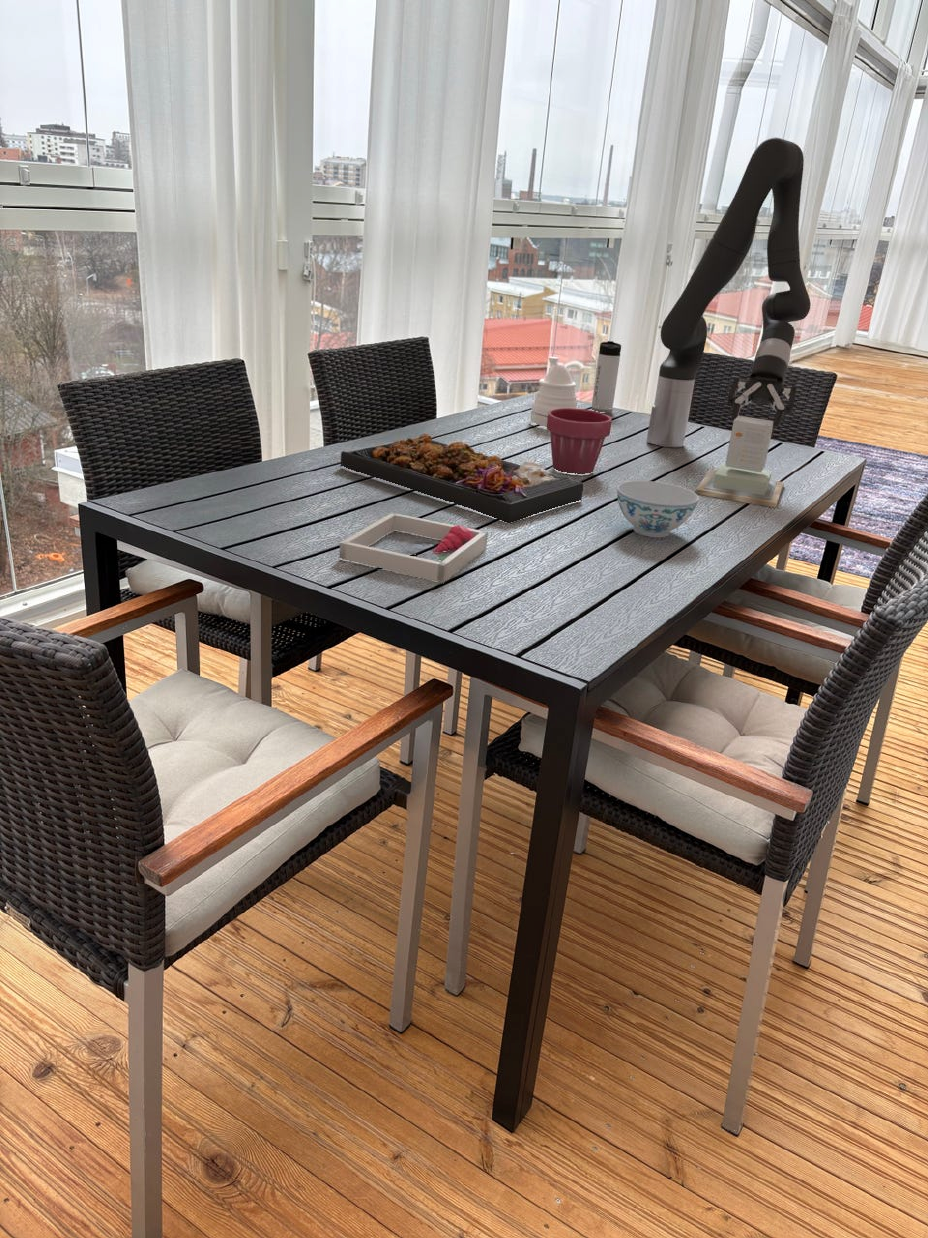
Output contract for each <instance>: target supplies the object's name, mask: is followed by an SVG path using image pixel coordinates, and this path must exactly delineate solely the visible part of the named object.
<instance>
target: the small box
mask: <svg viewBox="0 0 928 1238" xmlns="http://www.w3.org/2000/svg"><path fill="white" fill-rule="evenodd" d="M773 423H774V420H770V419H762V418H756V417H749V416H744V415H739V416H738V417H737V418H736V419H735V420H734V421H733V420H732V428H731V433H730V438H729V441H728V442H729V443H728V449H727V454H726V460H725V463H726V464H725V466H726V467H731V468H737V469H743V470H748V471H754V472H760V473H761V471H762V470H764V468H765V467H766V464H767V463H766V462H767V458H768V453H769V447H770V443H771V437H772V435H773V434H772V433H773V430H774V429H773Z"/></svg>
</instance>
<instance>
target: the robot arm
mask: <svg viewBox="0 0 928 1238" xmlns="http://www.w3.org/2000/svg"><path fill="white" fill-rule="evenodd" d="M804 159H805V158H804V153H803V150H802V149H801V147H800V146H799V144H796V143H795V142H793V141H789V140H786V139H783V138H781V137H775V136H774V137H768V138H767V139H765V140H763V141H762V142H761V143H759V145H758V146H757V147H756V149H754V152H753V153H752V155H751V157H750V160H748V161H749V162H748V163H747V166H746V168H745V171H744V173H743V176H742V177H741V181H740V183H739V185H738V187H737V190H736V192H735V193H734V196H733V198H732V199H731V202H730V203H729V206H728V207H727V209H726V211H725V213H724V215H723V217H722V219H721V221H720V223H719V224H718V226H717V228H716V230H715V231H714V233H713V235H712V236H711V238H710V240H709V242H708V244H707V246H706V248H705V250H704V251H703V254H702V256H701V258H700V260H699V261H698V264H697V265H696V267H695V269H694V271H693V272H692V274H691V277H690V279H689V281H688V282H687V285H686V286H685V288H684V290H683V291H682V293H681V295H680V296H679V297H678V300H677V301H676V302H675V304H674V305H673V307H672V308H671V310H670V311H669V312H668V314H667V316H666V317H665V318H664V320H663V322H662V325H661V329H660V340H661V342H662V344H663V346H664V347H665V348H666V349H668V350H669V351H668V355H667V357H666V358H665V360H664V361H663V362H662V363H661V365H660V367H659V371H658V379H657V383H656V390H655V396H654V405H652V406H651V411H650V417H649V423H648V429H647V430H648V431H647V436H646V443H648V444H653V445H654V444H655V446H658V445H659V447H665V448H681V447H684V443H685V439H686V432H687V427H688V422H689V418H690V417H689V416H690V411H691V405H692V399H693V394H694V387H695V381H696V376H697V373H698V371H699V369H700V366H701V364H702V361H703V356H704V352H705V348H706V347H705V346H706V342H707V336H708V324H707V321H706V318H705V317H704V316H703V315H704V313H705V312H706V310H707V308H708V306H709V305H710V303H711V302H712V301H713V300H714V298H715V297H716V296H717V295H718V294H719V293H720V292H721V291H722V290H723V288H725V287H726V286H727V285H728V283H729V282H730V281H731V280H733V278H734V277H735V275H736V274H737V272H738V271H739V269H740V268H741V266H742V265H743V262H744V261H745V259H746V257H747V255H748V254H749V252H750V250H751V247H752V245H753V242H754V238H755V234H756V233H755V232H756V228H757V221H758V217H759V214H760V211H761V208H762V206H763V204H764V203H765V201H766V199H767V198H768V195H769V193H770V192H771V191H772V192H771V193H772V198H773V213H772V218H771V223H770V228H769V231H768V235H767V243H766V244H767V245H766V256H767V257H766V258H767V260H766V261H767V273H768V274H767V275H768V278H769V280H770V281H772V282H778V283H780V282H781V283H782V282H783V283H785V282H786V284H787V285H788V286H789V290H784V291H780V292H779V291H778V292H774V293H772V294H769V295H767V296H766V297H765V299H764V300H763V301H762V305H761V313H762V334H761V338H760V342H759V346H758V348H757V350H756V352H755V355H754V356H755V357H754V359H753V364H752V367H751V370H750V374H749V376H748V380H747V381H740V379H739V378H738V377H736V378H735V377H734V379H733V381H732V383H731V385H730V389H729V391H728V394H727V399H726V401H727V402H726V406H727V407H732V410H731V415H730V416H731V417H730V419H731V421H732V422H733V421H734V420H735V419H736V418H737V417H738V416H740V412H741V408H743V407H744V406H747V405H749V404H750V403H753V404H762V405H765V406H767V405H770V406H771V408H772V409H773V410H775V412H776V413H775V415H774V419H773V421H774V423H773V429H772V430H776V429H777V428H780V427H781V423H782V420H783V416H785V415H787V416H791V415H792V414H793V411H794V408H795V407H794V406H795V402H796V401H795V400H796V393H797V389H798V388H797V386H795V385H793V386H791V387H790V388H789V387H784V383H785V378H786V376H787V375H786V374H787V371H788V368H789V364H790V359H791V351H792V348H793V343H794V341H795V340H794V339H795V335H796V331H795V330H796V329H795V328H794V326H793V325H792V323H791V322H798V321H802V320H804V319H806V317H808V314H809V313H810V311H811V299H810V296H809V292H808V290H807V287H806V284H805V281H804V278H803V274H802V269H801V258H800V257H801V256H800V255H801V252H800V237H799V235H800V233H799V229H800V228H799V227H800V224H799V223H800V222H799V221H800V205H801V194H802V183H803V177H804V176H803V175H804ZM742 389H744V392H743V393H742V394H741V395H740V396H738V397H737V398H736V395H737V393H739V392H740V391H741V390H742ZM783 395H785V398H786V399H787V400H788V404H787V405H784V404H783V402H782V400H781V396H783Z"/></svg>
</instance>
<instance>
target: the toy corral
mask: <svg viewBox="0 0 928 1238" xmlns="http://www.w3.org/2000/svg"><path fill="white" fill-rule="evenodd" d="M454 526H456V525H455V524H450V523H444V522H441V521H435V520H429V519H424V518H420V517H416V516H410V515H405V514H401V513H395V512H390V513H389V514H387V515H385V516H383V517H382V518H380V519H378V520H377V521H375V522H373V523H372V524H370V525H368V526H366V527H365V528H363V529H361V530H360V531H358V532H356V533H354V534H352V535H351V536H349V537H347V538H345V539H344V540H342V541H341V542H339V558H342V559H345V560H349V561H355V562H359V563H363V564H368V565H371V566H375V567H379V568H383V569H387V570H390V571H395V572H399V573H402V574H403V573H404V574H407V575H411V576H415V577H420V578H423V579H422V580H424V579H428V580H427V581H429V580H433V581H438V582H441V583H440V584H442V583H443V584H445V583H446V582H447V581H448V580H449V579H451V578H452V577H453V576H454V575H456V574H457V573H458V572H459V571H461V570H462V569H463V568H464V567H466V566H467V565H468V564H469V563H470V562H469V561H471V562H472V561H473V560H474V559H476V558H477V557H478V556H480V555H481V554H482V553H483V552H484V551H486V550H487V545H488V534H489V532H488V531H485V530H484V531H483V530H480V529H479V530H478V529H473V528H469V527H466V528H467V529H468V530H469V531H470V532H471V534H472V535H473V538H472V539H471V540H470V541H465V540H462V542H463V546H462V547H461V548H459V549H458V550H454V552H452V553H451V554H449V555H448V556H446V557H447V558H446V559H445V560H443V561H442V562H437V560H432V559H427V558H423V557H420V558H419V557H416V556H410V555H408V554H406V553H400V552H396V551H395V552H394V551H391V550H386V549H383V548H382V549H381V548H378V547H372V546H370V547H369V546H368V545H370V544H372V543H373V542H375V541H376V540H378V539H379V538H381V537H382V536H384V535H386V534H387V533H389V532H390V531H393V530H398V531H405V532H409V533H414V534H418V535H422V536H427V537H431V538H437V539H441V540H443V539H444V537H445V536H446V535H447V534H448V533H449V531H450V529H451V528H452V527H454ZM481 552H482V553H481ZM475 557H476V558H475ZM339 558H338V559H339ZM468 562H469V563H468ZM467 563H468V564H467ZM466 564H467V565H466ZM465 565H466V566H465ZM463 566H464V567H463ZM462 567H463V568H462ZM461 568H462V569H461ZM460 569H461V570H460ZM458 570H459V571H458ZM457 571H458V572H457ZM456 572H457V573H456ZM455 573H456V574H455ZM402 574H401V575H402ZM453 574H454V575H453ZM452 575H453V576H452ZM411 576H410V577H411ZM451 576H452V577H451ZM415 577H414V578H415ZM450 577H451V578H450ZM420 578H419V579H420ZM448 578H449V579H448ZM447 579H448V580H447ZM446 580H447V581H446ZM433 581H432V582H433ZM445 581H446V582H445ZM444 582H445V583H444Z"/></svg>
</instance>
